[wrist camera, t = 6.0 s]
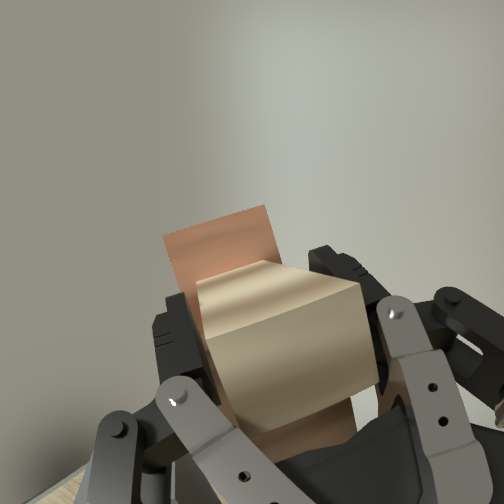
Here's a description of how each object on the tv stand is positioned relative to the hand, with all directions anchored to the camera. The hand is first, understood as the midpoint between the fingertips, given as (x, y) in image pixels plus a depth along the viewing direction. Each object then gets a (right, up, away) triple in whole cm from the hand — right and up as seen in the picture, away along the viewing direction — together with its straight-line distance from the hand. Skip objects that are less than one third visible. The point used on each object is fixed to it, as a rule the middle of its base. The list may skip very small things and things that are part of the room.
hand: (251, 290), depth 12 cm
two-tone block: (0, -3, +3) cm, 4 cm away
